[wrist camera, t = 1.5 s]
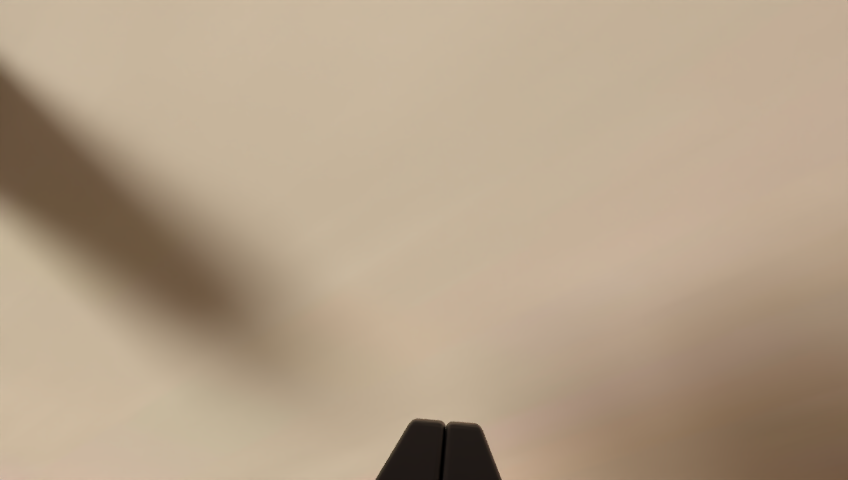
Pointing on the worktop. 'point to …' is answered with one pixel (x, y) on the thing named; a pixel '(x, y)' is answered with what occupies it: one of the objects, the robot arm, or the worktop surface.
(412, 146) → the worktop surface
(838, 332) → the worktop surface
